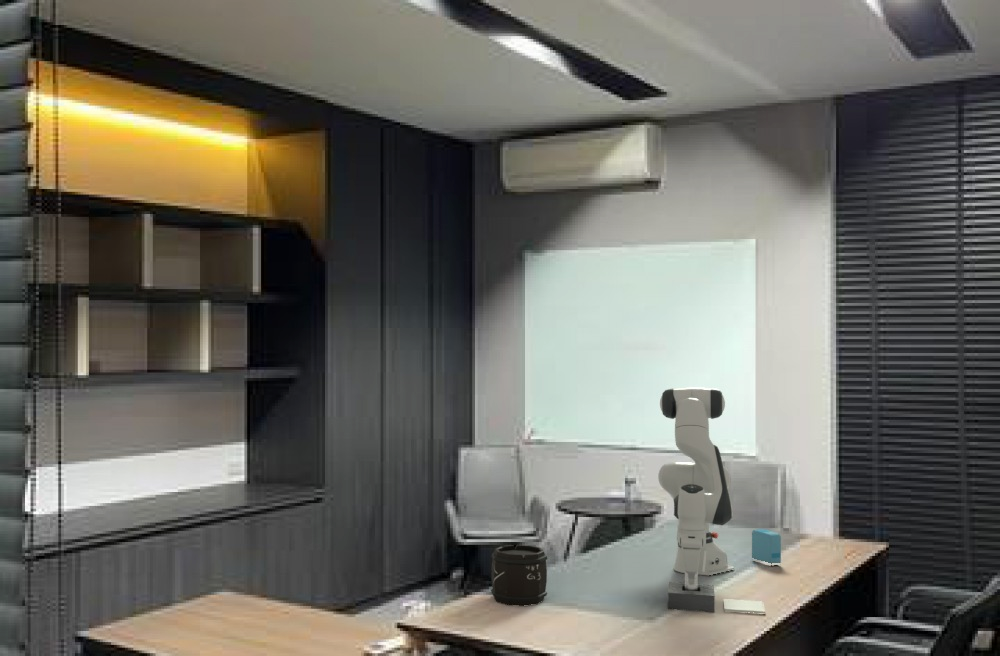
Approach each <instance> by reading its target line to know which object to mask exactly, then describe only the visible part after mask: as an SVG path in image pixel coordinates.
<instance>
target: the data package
mask: <svg viewBox="0 0 1000 656" xmlns="http://www.w3.org/2000/svg"><path fill="white" fill-rule="evenodd" d="M781 549H782V537H781V535H780V533H777V532H774V531H771V530H768V529H763V528H762V529H760V528H759V529H753V530H752V532H751V559H752V558H754V559H757V560H761V561H765V562H768V563H771V564H772V563H782V562H781V561H782V560H781V559H782V557H781V555H782V554H781V553H782V550H781Z"/></svg>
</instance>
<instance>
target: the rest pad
mask: <svg viewBox="0 0 1000 656" xmlns="http://www.w3.org/2000/svg"><path fill="white" fill-rule="evenodd" d="M723 601H724V602H723V608H724V609H723V610H725V611H724V613H730V612H747V613H748V612H750V613H753V612H754V613H765V614H766V608H765V605H764V602H763V601H761V600H749V599H732V598H730V599H729V598H723Z"/></svg>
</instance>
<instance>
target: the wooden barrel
mask: <svg viewBox="0 0 1000 656" xmlns="http://www.w3.org/2000/svg"><path fill="white" fill-rule="evenodd" d="M491 558H492V561H491V562H492V563H491V570H490V573H491V586H492V587H491V589H490V592H491V594H492V596H493V599H494V600H495V602H496V603H498V604H502V605H506V606H513V605H519V606H518V607H525V606H524V605H528V606H532V605H531V604H536V605H538V603H539V602H540V603H542V602H543V601H544V600H545V597H547V594H548V592H547V591H546V589H547V581H548V580H547V578H548V573H547V572H548V569H547V568H548V567H547V560H548V556H547V554H546V553H545V551H544V550H543V549H542V547H540V546H535V545H528V544H516V545H515V546H514V544H509V545H503V546H499V547H495V548H494V551H493V552H492V553H491ZM541 601H542V602H541ZM540 603H539V604H540Z"/></svg>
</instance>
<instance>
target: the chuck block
mask: <svg viewBox="0 0 1000 656" xmlns="http://www.w3.org/2000/svg"><path fill="white" fill-rule="evenodd" d="M667 590H668V591H667V610H674V609H677V610H676V611H689V612H690V611H691V612H703V611H705V613H715V610H716V609H715V603H716V601H715V597H716V596H715V595H716V594H715V584H708V583H706V584H705V583H698V591H686V590H685V582H674V581H669V582H668V589H667Z"/></svg>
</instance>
